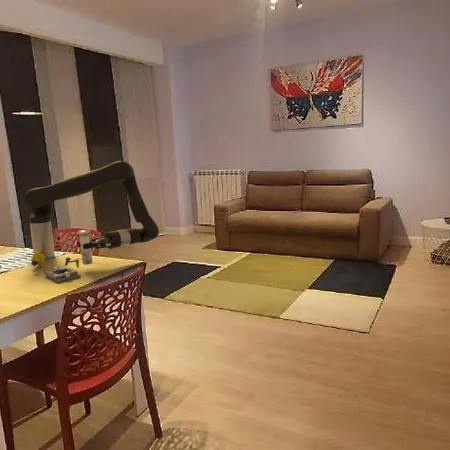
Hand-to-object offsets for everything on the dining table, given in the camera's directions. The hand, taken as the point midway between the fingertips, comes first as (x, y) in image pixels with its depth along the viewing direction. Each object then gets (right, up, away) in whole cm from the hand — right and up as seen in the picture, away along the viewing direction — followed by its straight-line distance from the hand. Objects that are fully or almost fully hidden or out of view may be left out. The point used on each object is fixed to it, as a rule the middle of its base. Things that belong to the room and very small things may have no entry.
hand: (80, 245), depth 169 cm
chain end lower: (-6, -12, -4) cm, 14 cm away
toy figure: (-22, -10, +11) cm, 27 cm away
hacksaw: (-7, -10, +13) cm, 18 cm away
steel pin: (+2, -7, +3) cm, 8 cm away
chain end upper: (-6, -12, -4) cm, 14 cm away
